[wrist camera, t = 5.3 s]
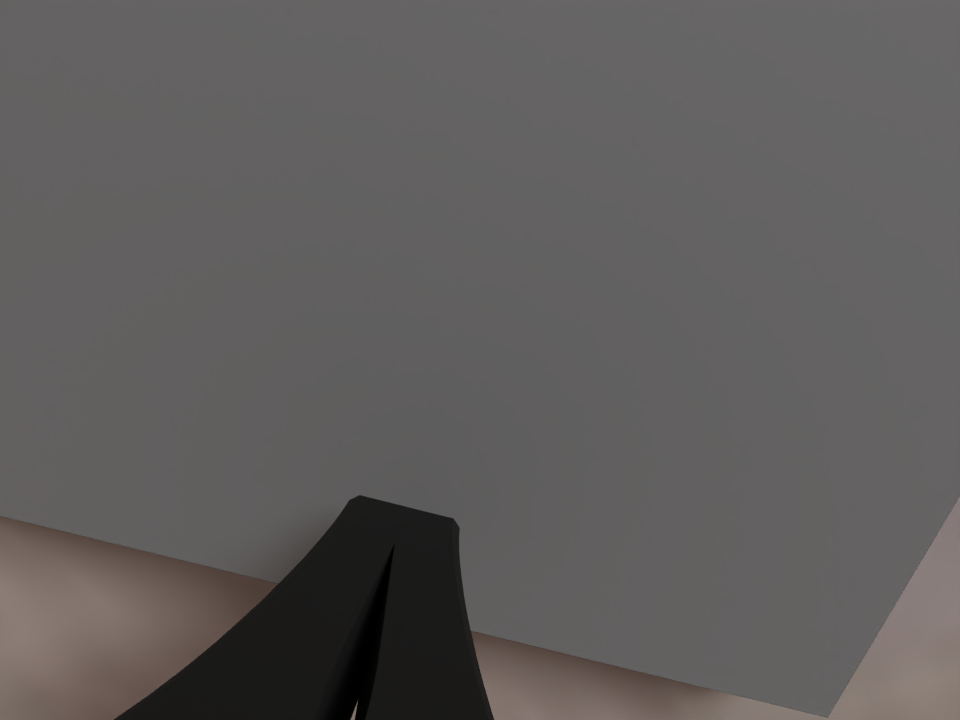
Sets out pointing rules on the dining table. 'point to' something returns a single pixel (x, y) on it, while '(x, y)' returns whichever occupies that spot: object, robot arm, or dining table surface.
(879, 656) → the dining table surface
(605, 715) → the dining table surface
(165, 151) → the loose plank
